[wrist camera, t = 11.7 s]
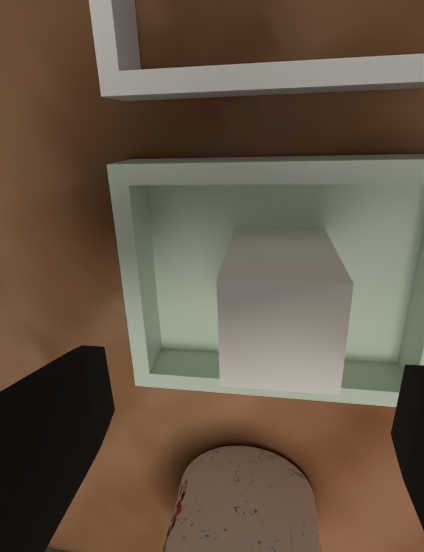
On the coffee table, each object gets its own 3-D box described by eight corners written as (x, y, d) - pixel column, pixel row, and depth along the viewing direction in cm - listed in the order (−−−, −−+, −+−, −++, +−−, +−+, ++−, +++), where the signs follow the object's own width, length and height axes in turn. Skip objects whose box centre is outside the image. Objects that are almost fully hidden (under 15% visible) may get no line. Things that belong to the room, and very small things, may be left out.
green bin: (453, 153, 15) (492, 158, 12) (407, 370, 19) (429, 409, 16) (132, 159, 17) (106, 164, 14) (152, 353, 21) (135, 385, 18)
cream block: (325, 230, 16) (353, 283, 10) (318, 311, 17) (340, 395, 12) (234, 229, 16) (216, 279, 11) (235, 307, 18) (220, 386, 12)
